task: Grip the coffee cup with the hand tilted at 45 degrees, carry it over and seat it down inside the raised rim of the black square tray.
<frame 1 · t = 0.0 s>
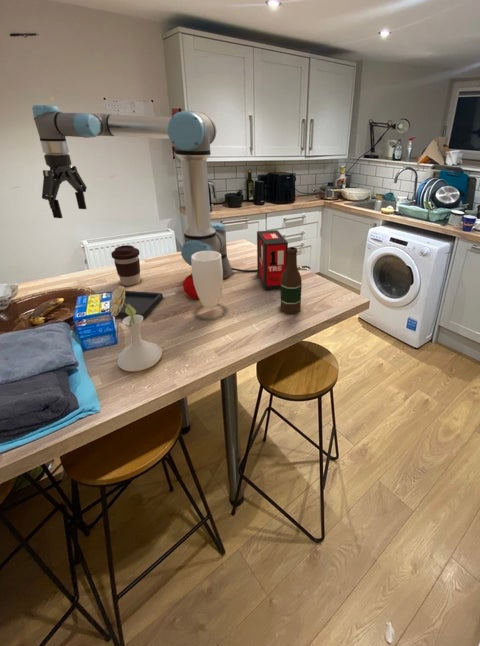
hand: (71, 213, 126), 28 cm above the counter, tool pointing down, fingers open, 13 cm apart
coffee cup: (131, 282, 138), on the counter
beer bottle: (290, 310, 123), on the counter
cup: (210, 312, 119), on the counter
fruit: (196, 296, 129), on the counter
flower in vase: (140, 363, 93), on the counter
cleaning product box: (271, 281, 144), on the counter
black square tray: (133, 307, 120), on the counter
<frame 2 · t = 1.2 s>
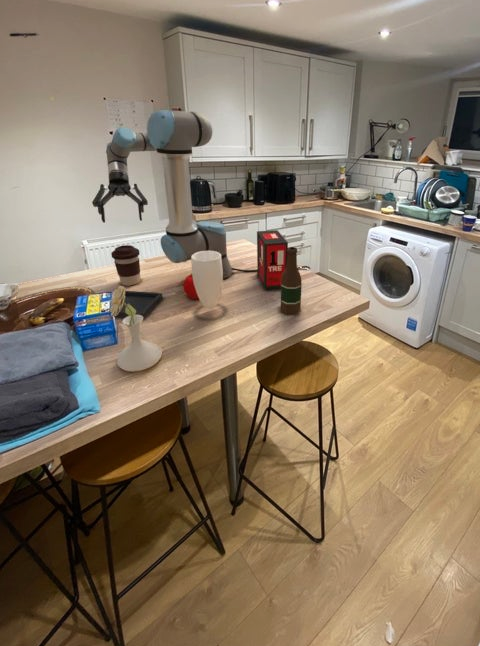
hand: (122, 220, 136), 24 cm above the counter, tool tilted 45°, fingers open, 13 cm apart
nothing on the counter moved.
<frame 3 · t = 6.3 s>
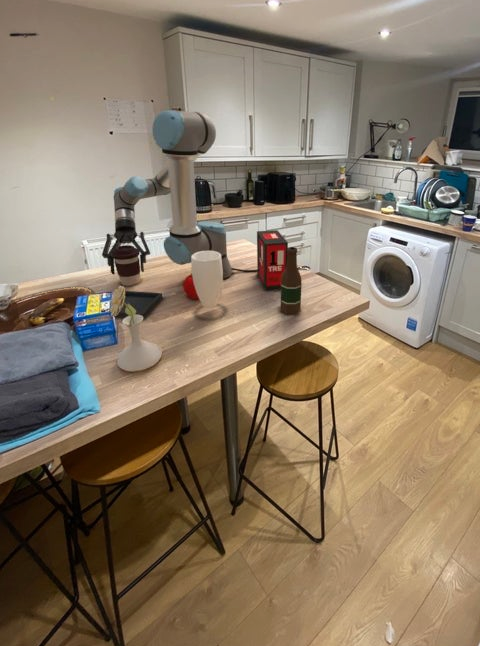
hand: (127, 271, 133), 6 cm above the counter, tool tilted 45°, fingers closed on coffee cup, 10 cm apart
coffee cup: (131, 282, 138), on the counter, touching gripper
everything else where it was.
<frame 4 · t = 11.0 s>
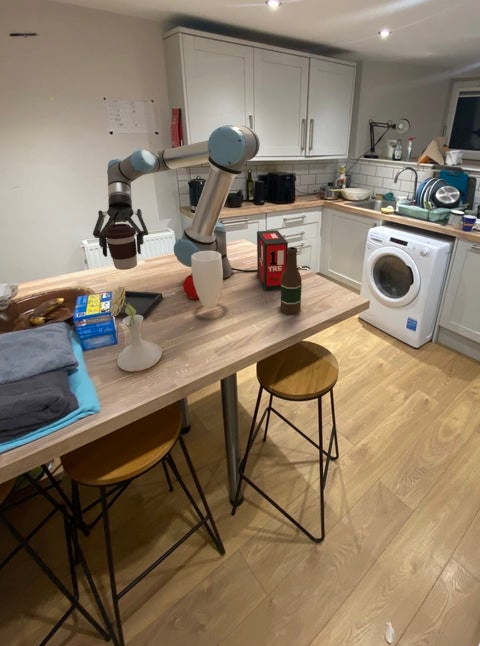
hand: (122, 253, 116), 19 cm above the counter, tool tilted 45°, fingers closed on coffee cup, 10 cm apart
coffee cup: (126, 266, 121), point 13 cm above the counter, touching gripper
everything else where it was.
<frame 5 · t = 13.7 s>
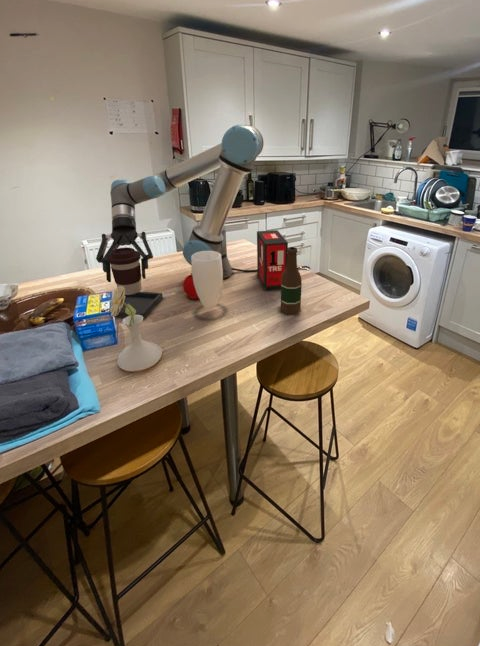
hand: (126, 279, 112), 13 cm above the counter, tool tilted 45°, fingers closed on coffee cup, 10 cm apart
coffee cup: (130, 291, 117), point 6 cm above the counter, touching gripper
everything else where it was.
when the fingers open (7 cm above the counter, at t = 15.8 s): coffee cup stays where it is, resting on black square tray.
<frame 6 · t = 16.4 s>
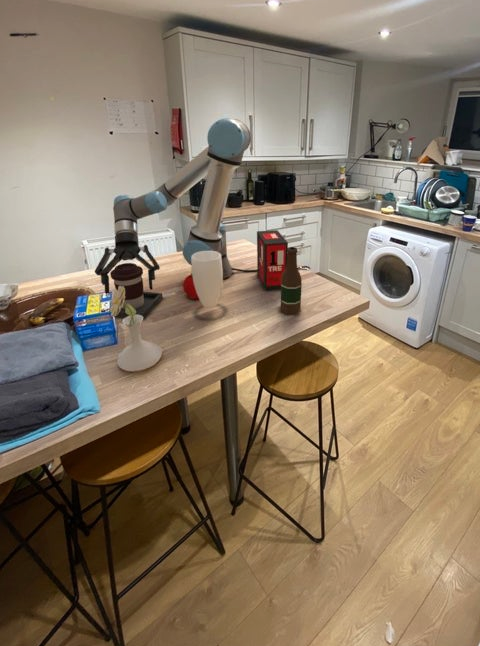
hand: (129, 290, 115), 8 cm above the counter, tool tilted 45°, fingers open, 13 cm apart
coffee cup: (133, 305, 120), point 1 cm above the counter, touching black square tray
everything else where it was.
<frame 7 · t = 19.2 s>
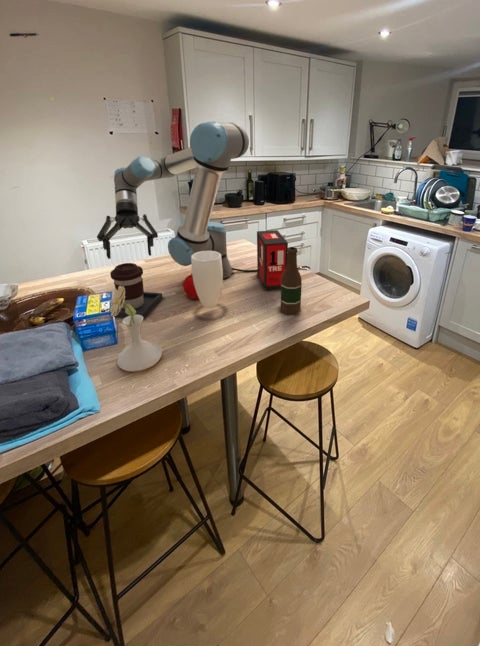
hand: (129, 255, 123), 16 cm above the counter, tool tilted 45°, fingers open, 13 cm apart
nothing on the counter moved.
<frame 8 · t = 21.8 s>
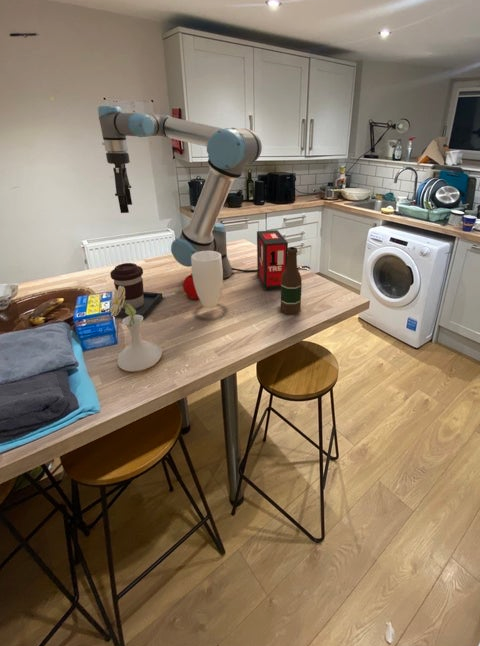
hand: (126, 208, 133), 29 cm above the counter, tool pointing down, fingers open, 13 cm apart
nothing on the counter moved.
at the end: coffee cup inside the target area in the black square tray (0.1 cm from its centre), point 0.6 cm above the black square tray's base; coffee cup tilted 0° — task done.
